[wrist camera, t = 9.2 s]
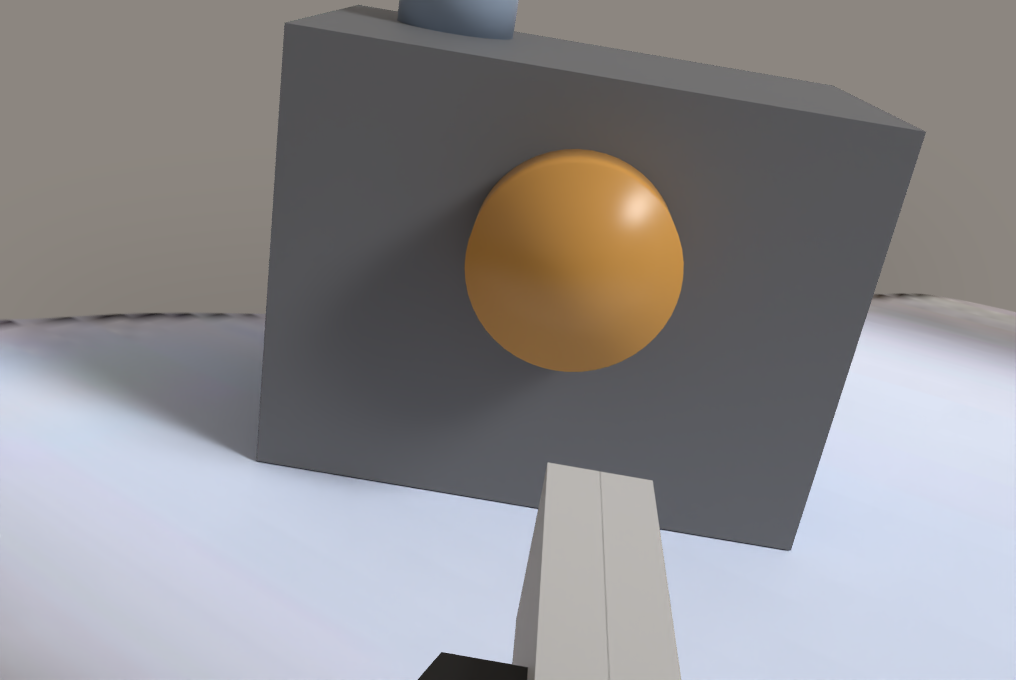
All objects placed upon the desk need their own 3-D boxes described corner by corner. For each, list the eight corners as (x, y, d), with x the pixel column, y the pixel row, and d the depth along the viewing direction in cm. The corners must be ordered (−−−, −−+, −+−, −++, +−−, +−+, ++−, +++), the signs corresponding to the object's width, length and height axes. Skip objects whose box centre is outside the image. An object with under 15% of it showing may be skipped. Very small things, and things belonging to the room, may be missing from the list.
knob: (639, 297, 35) (675, 132, 32) (657, 387, 27) (706, 184, 25) (475, 269, 35) (501, 103, 32) (451, 352, 27) (481, 145, 25)
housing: (740, 415, 41) (833, 85, 36) (790, 550, 32) (925, 131, 26) (327, 346, 41) (358, 5, 36) (256, 460, 32) (284, 22, 26)
